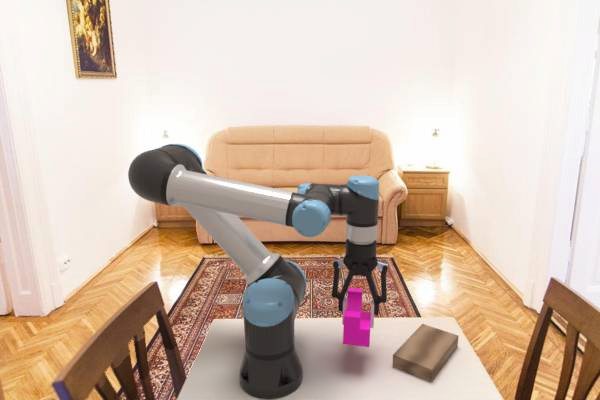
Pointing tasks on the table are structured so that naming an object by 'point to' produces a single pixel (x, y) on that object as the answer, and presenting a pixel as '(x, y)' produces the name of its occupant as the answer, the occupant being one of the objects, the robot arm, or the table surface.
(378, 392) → the table surface
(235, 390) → the table surface
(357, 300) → the toy block
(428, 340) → the walnut base block
